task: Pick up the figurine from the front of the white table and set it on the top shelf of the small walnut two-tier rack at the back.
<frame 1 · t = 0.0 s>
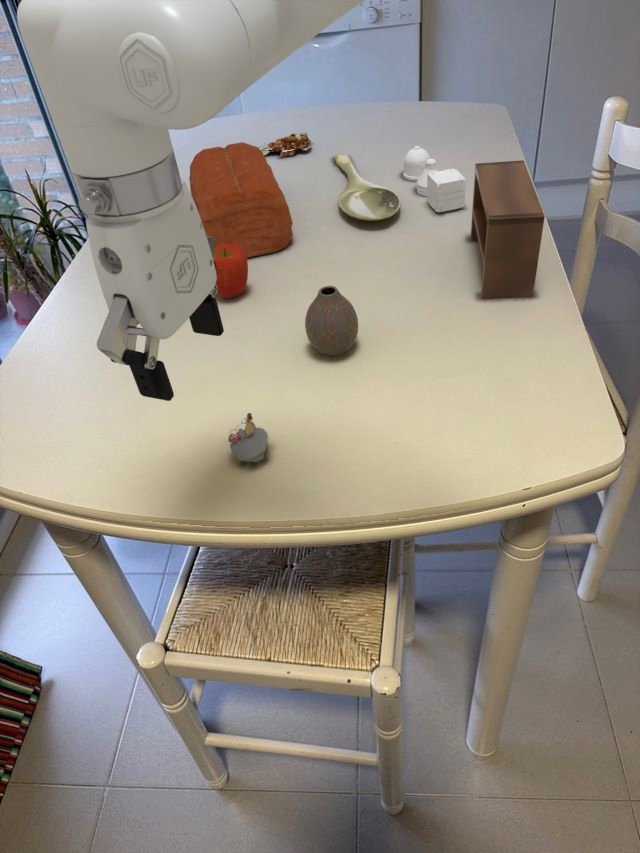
hand: (184, 363, 60), 16 cm above the table, tool pointing down, fingers open, 9 cm apart
bread: (242, 224, 117), on the table
apple: (233, 294, 99), on the table
vase: (334, 348, 87), on the table
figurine: (251, 454, 74), on the table
spoon: (358, 190, 122), on the table
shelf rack: (499, 265, 98), on the table
pastry: (284, 152, 140), on the table
container set: (430, 190, 119), on the table
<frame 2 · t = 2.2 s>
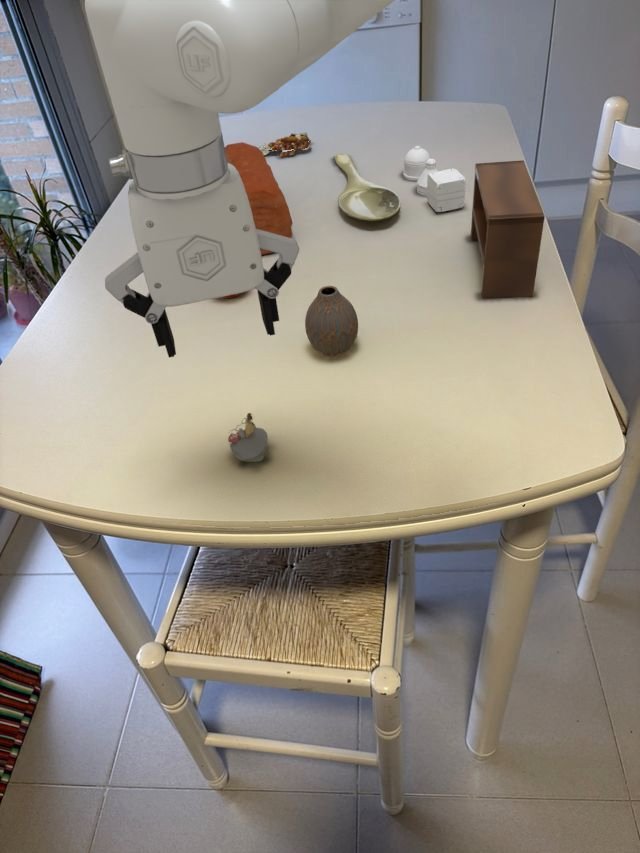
hand: (220, 338, 63), 16 cm above the table, tool pointing down, fingers open, 9 cm apart
nothing on the table moved.
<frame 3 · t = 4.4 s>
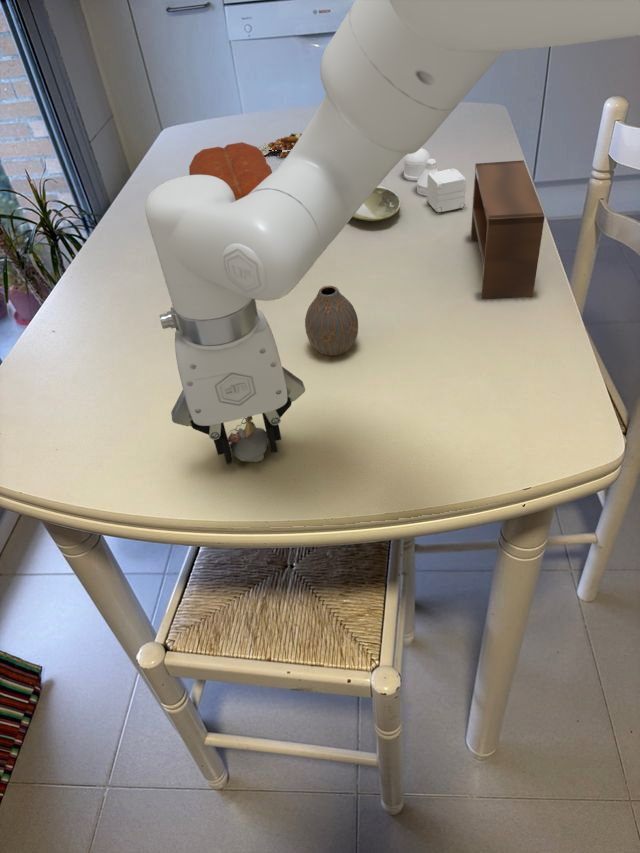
hand: (250, 448, 73), 1 cm above the table, tool pointing down, fingers closed on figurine, 4 cm apart
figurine: (251, 454, 74), on the table, touching gripper
everything else where it was.
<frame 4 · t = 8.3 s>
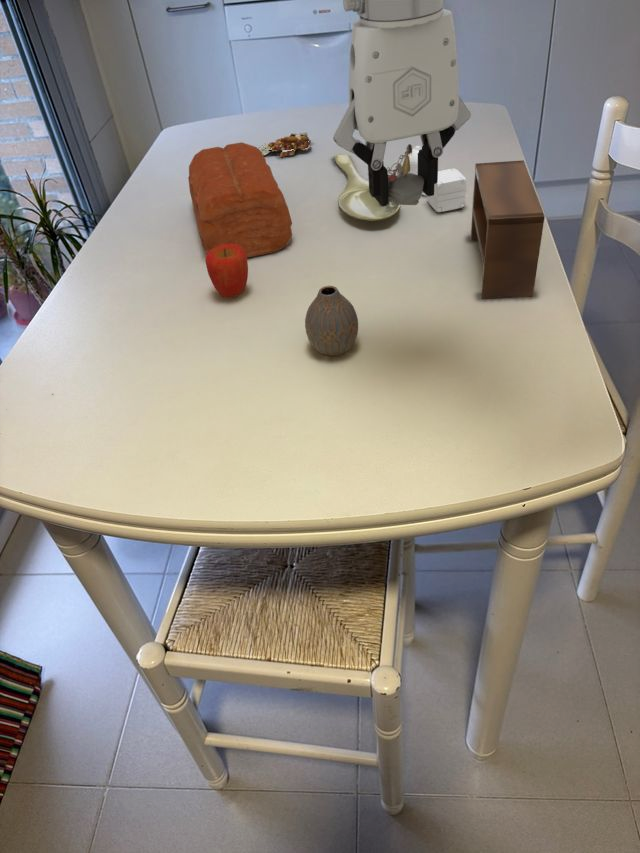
hand: (403, 194, 70), 21 cm above the table, tool pointing down, fingers closed on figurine, 4 cm apart
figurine: (403, 203, 71), point 20 cm above the table, touching gripper
everything else where it was.
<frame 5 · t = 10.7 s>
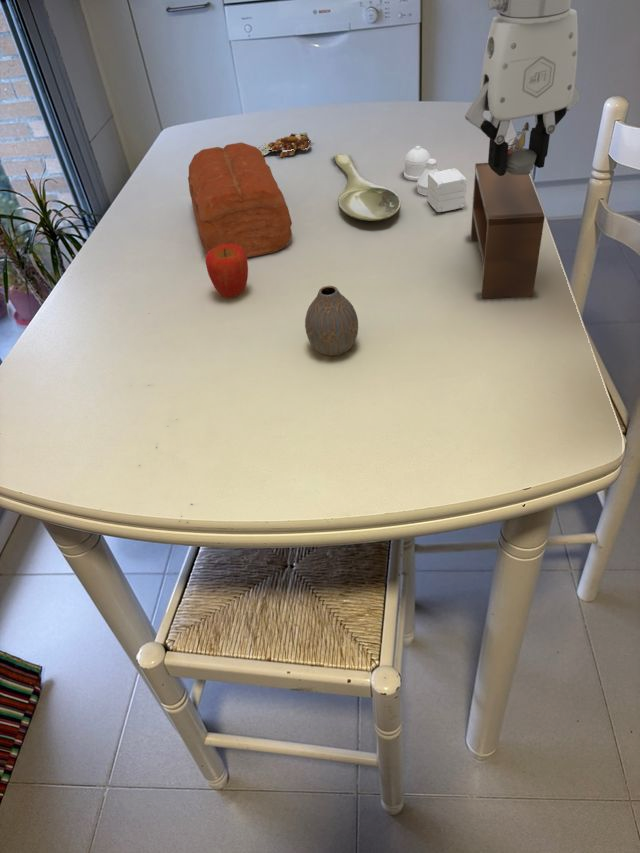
hand: (516, 166, 82), 17 cm above the table, tool pointing down, fingers closed on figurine, 4 cm apart
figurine: (515, 173, 83), point 16 cm above the table, touching gripper
everything else where it was.
when the fingers open (13 cm above the table, at t = 12.2 s): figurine stays where it is, resting on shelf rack.
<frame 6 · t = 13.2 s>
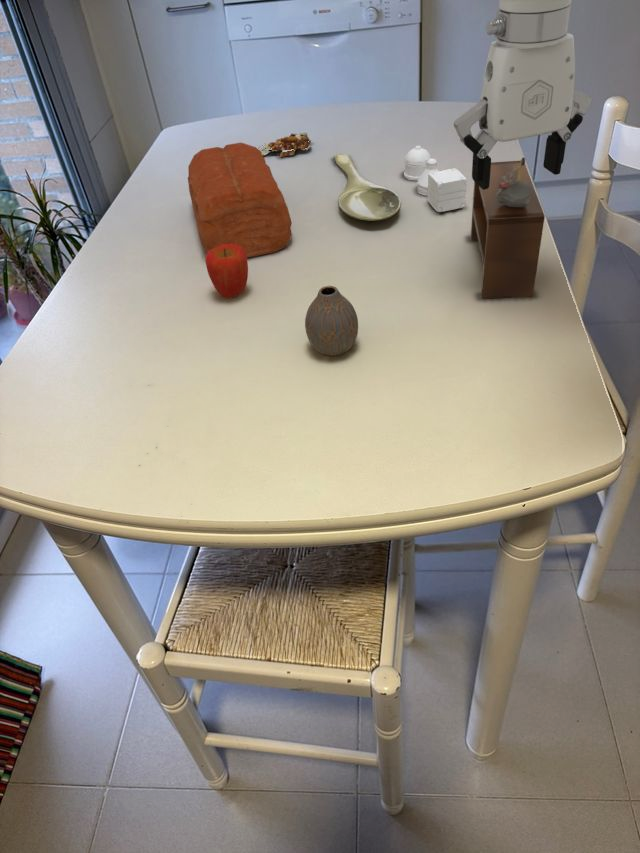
hand: (516, 178, 83), 16 cm above the table, tool pointing down, fingers open, 9 cm apart
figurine: (512, 205, 86), point 12 cm above the table, touching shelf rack
everything else where it was.
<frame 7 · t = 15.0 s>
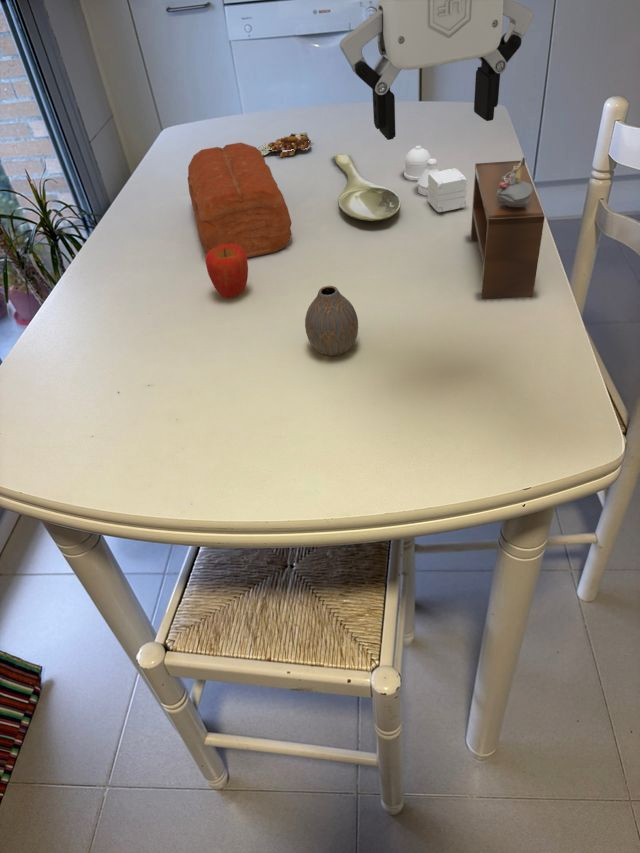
hand: (435, 125, 62), 29 cm above the table, tool pointing down, fingers open, 9 cm apart
nothing on the table moved.
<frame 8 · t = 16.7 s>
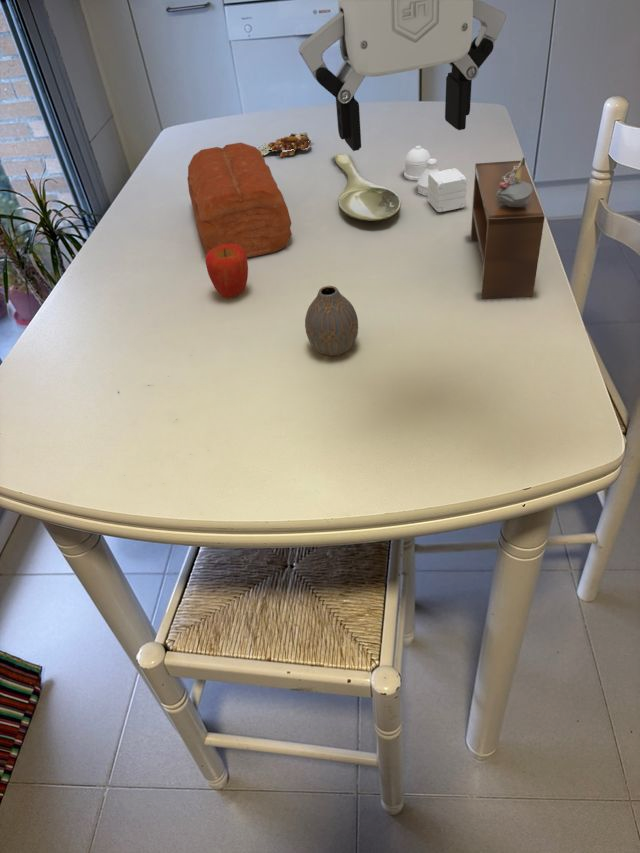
hand: (404, 135, 58), 30 cm above the table, tool pointing down, fingers open, 9 cm apart
nothing on the table moved.
at the end: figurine inside the target area on the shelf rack (0.8 cm from its centre), point 11.8 cm above the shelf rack's base; the gripper is holding nothing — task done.
